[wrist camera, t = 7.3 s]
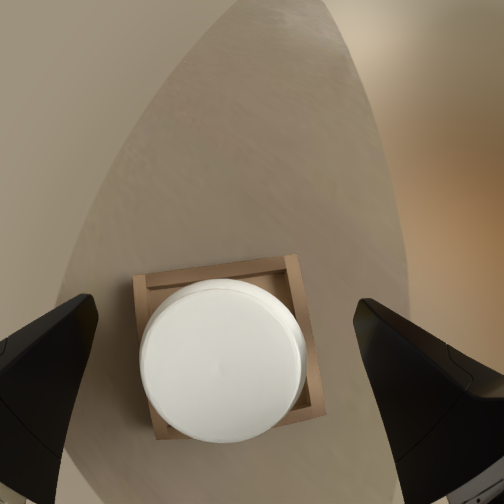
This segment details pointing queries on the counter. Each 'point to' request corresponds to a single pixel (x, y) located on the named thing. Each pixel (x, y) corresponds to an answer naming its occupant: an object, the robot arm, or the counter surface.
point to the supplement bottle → (222, 360)
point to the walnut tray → (261, 275)
